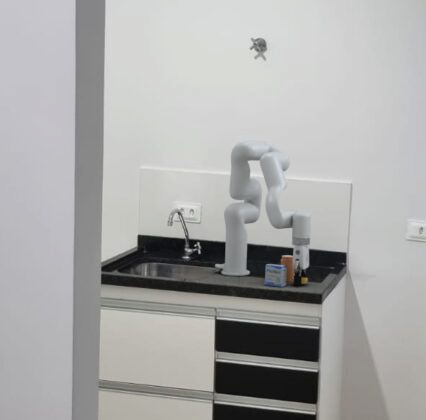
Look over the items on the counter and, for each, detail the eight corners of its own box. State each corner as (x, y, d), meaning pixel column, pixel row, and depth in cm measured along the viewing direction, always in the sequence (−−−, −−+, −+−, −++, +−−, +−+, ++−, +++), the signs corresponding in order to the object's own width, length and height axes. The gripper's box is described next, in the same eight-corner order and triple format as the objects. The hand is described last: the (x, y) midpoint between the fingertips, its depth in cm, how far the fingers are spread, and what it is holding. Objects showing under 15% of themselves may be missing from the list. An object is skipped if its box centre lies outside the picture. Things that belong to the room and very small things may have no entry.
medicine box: (264, 285, 358) (265, 264, 357) (269, 283, 362) (270, 263, 361) (281, 287, 354) (282, 266, 354) (286, 285, 358) (287, 265, 358)
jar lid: (310, 282, 362) (310, 278, 362) (301, 284, 357) (301, 280, 357) (297, 280, 366) (297, 276, 366) (288, 282, 360) (288, 277, 360)
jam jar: (279, 281, 369) (280, 256, 368) (280, 278, 375) (281, 254, 374) (293, 281, 369) (294, 257, 368) (295, 279, 375) (295, 255, 374)
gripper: (304, 244, 351) (303, 288, 352) (314, 240, 368) (313, 281, 369) (286, 243, 352) (285, 286, 354) (297, 239, 369) (296, 280, 371)
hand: (299, 283), depth 362 cm, fingers closed on jar lid, 6 cm apart
